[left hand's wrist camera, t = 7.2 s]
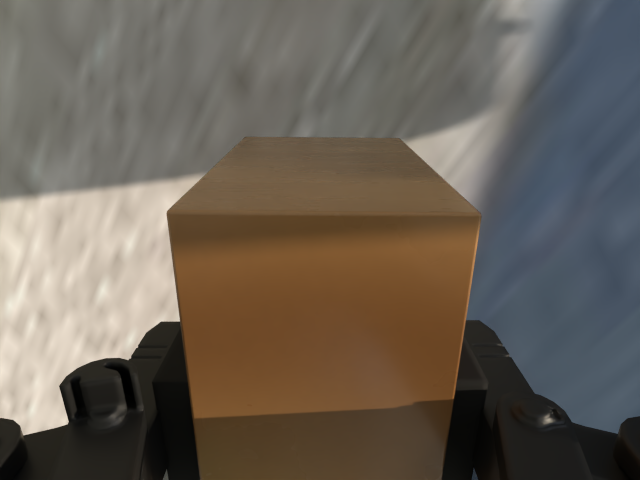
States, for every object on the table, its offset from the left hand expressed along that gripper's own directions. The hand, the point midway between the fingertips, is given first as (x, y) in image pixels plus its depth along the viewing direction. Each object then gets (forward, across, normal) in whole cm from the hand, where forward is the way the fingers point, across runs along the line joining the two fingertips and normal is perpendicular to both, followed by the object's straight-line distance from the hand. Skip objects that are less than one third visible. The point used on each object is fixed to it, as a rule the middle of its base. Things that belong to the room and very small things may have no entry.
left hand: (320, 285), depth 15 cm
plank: (+1, 0, -24) cm, 24 cm away
